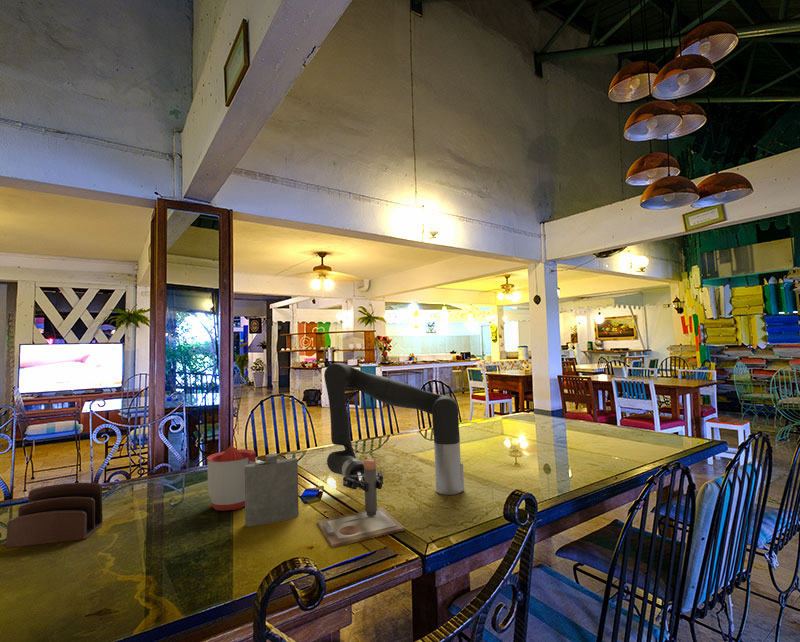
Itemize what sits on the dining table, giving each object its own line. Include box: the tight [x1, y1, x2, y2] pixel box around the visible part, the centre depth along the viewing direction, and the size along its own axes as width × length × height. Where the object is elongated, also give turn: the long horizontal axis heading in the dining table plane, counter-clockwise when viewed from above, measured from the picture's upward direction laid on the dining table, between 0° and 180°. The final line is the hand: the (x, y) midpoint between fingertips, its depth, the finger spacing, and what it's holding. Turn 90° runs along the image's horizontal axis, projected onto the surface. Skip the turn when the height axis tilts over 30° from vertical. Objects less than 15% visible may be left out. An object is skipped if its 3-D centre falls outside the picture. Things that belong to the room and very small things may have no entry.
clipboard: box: [316, 507, 406, 549], centre depth 121 cm, size 21×17×2 cm
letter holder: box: [5, 482, 104, 549], centre depth 123 cm, size 10×20×14 cm, turn 101°
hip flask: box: [244, 453, 300, 527], centre depth 129 cm, size 16×4×20 cm, turn 115°
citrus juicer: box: [206, 445, 257, 512], centre depth 143 cm, size 16×17×20 cm
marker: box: [363, 458, 378, 516], centre depth 127 cm, size 4×4×16 cm
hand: (373, 487), depth 124 cm, fingers closed on marker, 3 cm apart
